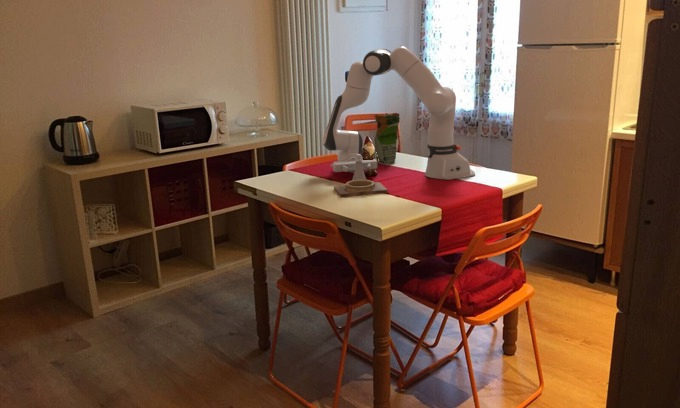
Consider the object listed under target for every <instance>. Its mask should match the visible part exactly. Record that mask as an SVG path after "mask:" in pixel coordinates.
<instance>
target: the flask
mask: <svg viewBox="0 0 680 408" xmlns="http://www.w3.org/2000/svg"><path fill="white" fill-rule="evenodd" d="M355 162H356V169H355V172H353V176H352V180H368V179H367V177H366V175H365V172H364V170H363V168H362V160H356V161H355ZM352 180H351V181H352Z"/></svg>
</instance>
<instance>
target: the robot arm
mask: <svg viewBox="0 0 680 408" xmlns="http://www.w3.org/2000/svg"><path fill="white" fill-rule="evenodd" d="M392 70H393V71H394V72H395V73H396V74H398V76H400V77H401V78H402V80H403V81H404V82H405V83H406V84H407V85H408V86H409V87H410V88H411V89H412V91H413V92H414V93H415V95H416V96H417V97H418V98H419V100H420V102H421V103H422V104H423V105H424V107H425V108H426V110H427V111H428V113H429V114H430V116H429V123H428V132H427V133H428V135H427V136H428V139H427V141H428V143H427V147H426V148H427V149H426V155H427V162H426V163H427V164H426V169H425V173H424V176H425V177H427V178H431V179H440V180H445V181H447V180H455V179H461V178H468V177H473V176H475V175H476V172H475V171H474V170H473V169H471V165H470V162H469V160H468V159H467V158H465V157H464V156H463V155H462V154H460V153H459V152H458V151H461V149H462V146H461V145H457V144H454V128H455V127H454V126H455V117H456V107H457V104H456V103H457V102H456V101H457V96H456V93H455V91H454V90H453V89H452V88H450V87H448V86H442V85H441V83H440V82H439V81H438V79H437V78H436V77H435V75H434V73H433V72H432V71H431V70H430V68H428V66H426V64H425V63H424V62H423V61H422V59H420V58H419V57H418V56H417V55H416V54H415V53H414V52H412V51H411V50H410V49H408V48H407V47H406V46H399V47H396V48H395V49H394V50H392V51H390V50H389V49H386V48H378V49H373V50H371V51H369V52H367V53H366V54H365V56H364V57H363V60H362V61H356V62H354V63H352V64H351V66H350V67H349V71H348V74H347V79H346V84H345V89H344V91H343V92H342V93H341V94H339V96H337V98H336V99H335V102H334V105H333V107H332V111H331V114H330V116H329V120H328V123H327V127H326V130H325V132H324V134H323V137H322V144H323V146H324V148H325V149H327V151H329V152H330V151H332V152H333V151H338V153H337V161H333V162H332V163H331V164H330V167H331V168H333V169H332V170H333V172H334V173H341V172H346V173H355V169H356V162H355V161H356V160H362V168H363V171H365V170H366V171H370V170H375V169H377V168H378V161H377V158H374V159H373V160H363V159H362V155H361V154H362V153H361V152H362V150H363V144H364V143H363V142H364V141H363V137H362V135H361V134H360V132H358V131H357V130H344V129H338V126H339V122H340V119H341V117H342V114H343V113H344V112H346V110H349V109H352V108H356V107H359V106H361V105H363V104H364V103H366V102H367V101H368V98H369V95H370V90H371V84H372V83H371V82H372V79H373V77H374V76H379V75H385V74H386V73H389V72H390V71H392Z"/></svg>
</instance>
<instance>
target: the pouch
mask: <svg viewBox="0 0 680 408" xmlns="http://www.w3.org/2000/svg"><path fill="white" fill-rule="evenodd" d="M373 118H375V119H374V120H375V122H376V132H375V136H374V141H373V142H374V149H375V150H376V151H375V150H374V151H375V153H376V152H377V155H378V159H379V161H378V162H382V163H384V164H387V165H388V164H394V163H395V162H396V159H397V150H398V148H397V140H398V131H399V123H400V119H401V118H400V113H397V112H393V113H387V112H386V113H385V114H380V115H379V114H375V115H374V116H373Z"/></svg>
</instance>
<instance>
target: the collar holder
mask: <svg viewBox="0 0 680 408" xmlns="http://www.w3.org/2000/svg"><path fill="white" fill-rule="evenodd" d="M333 190H334V192H335V193H336V194H337V195H338V197H339V198H340V199H342V198H350V197H352V198H353V197H361V196H372V195H382V194H388V189H387V188H386V187H385V185H383V184H382V183H381V182H378V181H375V182H374V181H373V180H369V179H367V180H349V181H346V183H345V184H343V185H334V186H333Z"/></svg>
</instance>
